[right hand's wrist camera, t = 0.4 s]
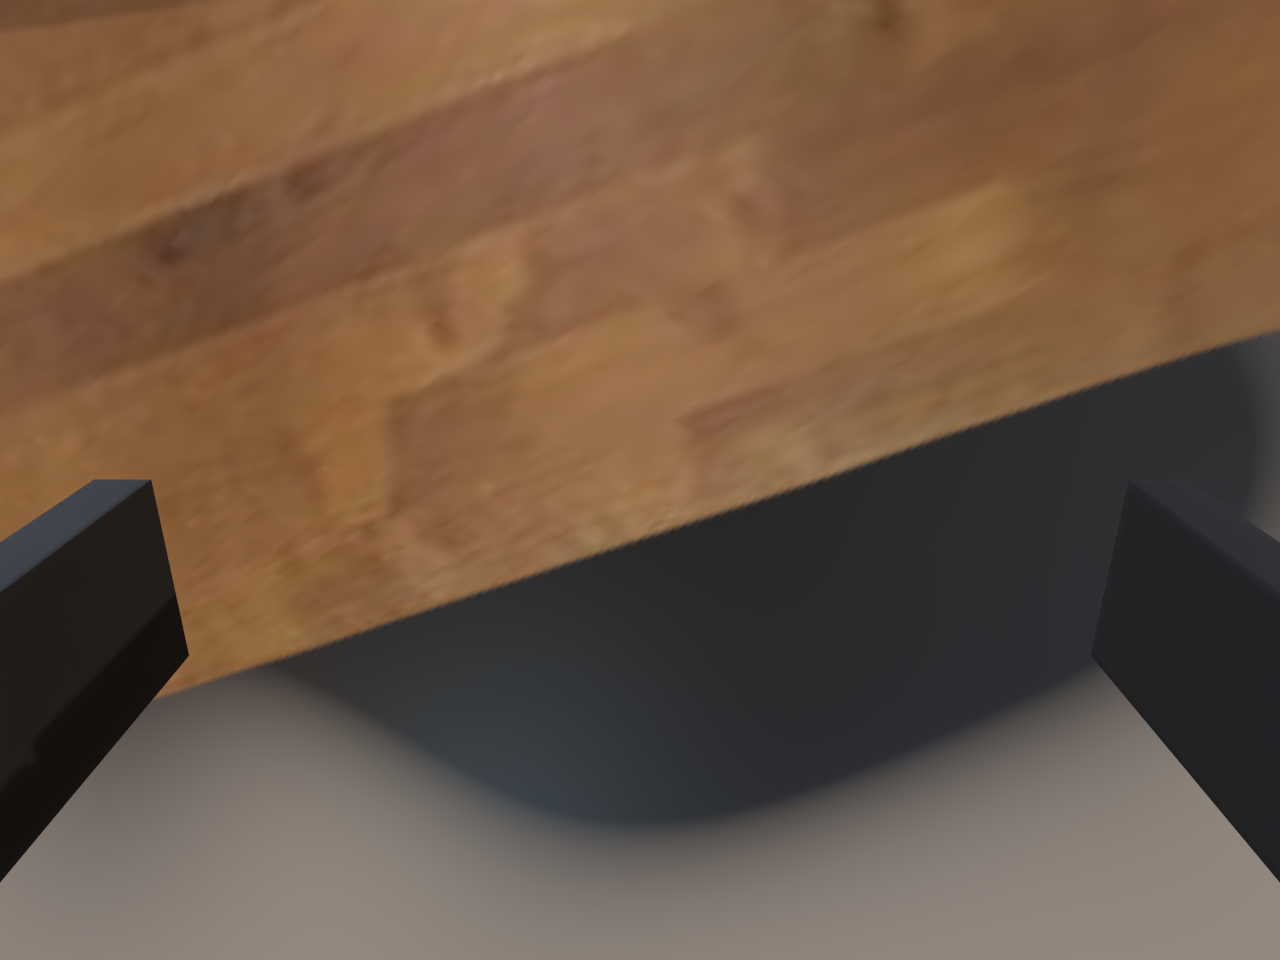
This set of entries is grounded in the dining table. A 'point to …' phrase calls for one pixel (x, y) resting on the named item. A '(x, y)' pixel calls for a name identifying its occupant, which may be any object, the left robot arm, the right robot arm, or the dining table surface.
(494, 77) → the dining table surface
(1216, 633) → the right robot arm
